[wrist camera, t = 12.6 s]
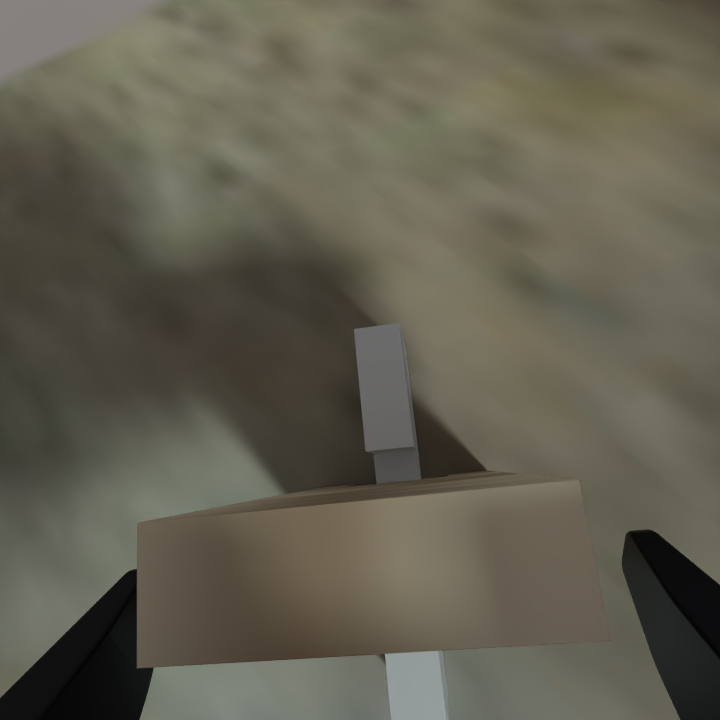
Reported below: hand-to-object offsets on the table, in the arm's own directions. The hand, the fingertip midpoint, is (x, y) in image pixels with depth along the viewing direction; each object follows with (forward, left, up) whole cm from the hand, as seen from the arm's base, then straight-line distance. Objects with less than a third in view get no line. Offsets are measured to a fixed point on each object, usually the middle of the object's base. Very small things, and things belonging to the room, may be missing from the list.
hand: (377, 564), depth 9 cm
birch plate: (0, 0, -9) cm, 9 cm away
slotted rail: (0, 0, -9) cm, 9 cm away
